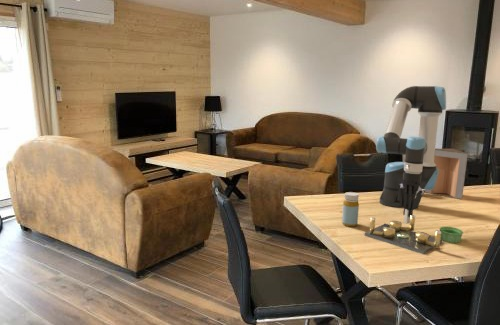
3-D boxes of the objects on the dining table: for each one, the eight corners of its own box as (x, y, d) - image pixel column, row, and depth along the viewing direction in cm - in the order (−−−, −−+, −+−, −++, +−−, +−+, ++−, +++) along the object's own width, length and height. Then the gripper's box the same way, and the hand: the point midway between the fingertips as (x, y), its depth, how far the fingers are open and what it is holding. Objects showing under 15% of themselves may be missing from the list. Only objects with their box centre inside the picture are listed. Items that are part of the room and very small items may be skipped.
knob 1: (395, 234, 169) (396, 220, 168) (393, 238, 165) (395, 223, 163) (370, 230, 174) (371, 216, 172) (368, 234, 169) (369, 219, 168)
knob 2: (390, 230, 174) (391, 216, 173) (388, 226, 179) (389, 212, 178) (415, 232, 173) (416, 217, 171) (412, 228, 177) (413, 214, 176)
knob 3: (412, 239, 164) (413, 224, 162) (420, 237, 166) (421, 223, 165) (434, 249, 155) (436, 233, 153) (442, 246, 157) (444, 231, 156)
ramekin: (451, 245, 163) (453, 235, 162) (433, 237, 171) (434, 228, 170) (466, 242, 167) (467, 232, 166) (448, 234, 175) (449, 225, 174)
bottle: (348, 228, 181) (351, 196, 178) (338, 223, 187) (340, 192, 184) (360, 225, 184) (362, 194, 181) (350, 221, 190) (352, 191, 187)
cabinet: (424, 192, 244) (429, 148, 238) (430, 190, 251) (434, 146, 245) (461, 199, 230) (467, 152, 224) (465, 196, 237) (471, 150, 231)
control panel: (364, 235, 172) (364, 231, 172) (384, 225, 184) (385, 221, 184) (423, 254, 153) (424, 249, 153) (442, 242, 166) (442, 237, 165)
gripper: (394, 169, 177) (389, 219, 181) (420, 175, 166) (413, 228, 170) (405, 168, 181) (400, 217, 185) (431, 174, 170) (424, 226, 174)
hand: (406, 222), depth 178 cm, fingers closed
